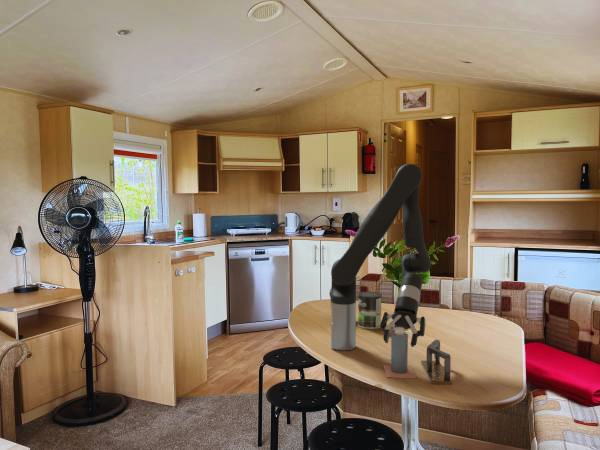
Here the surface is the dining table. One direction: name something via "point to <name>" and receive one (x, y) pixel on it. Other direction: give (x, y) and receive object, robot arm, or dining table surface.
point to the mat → (395, 375)
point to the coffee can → (369, 310)
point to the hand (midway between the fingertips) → (398, 343)
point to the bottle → (399, 351)
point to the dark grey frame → (437, 364)
